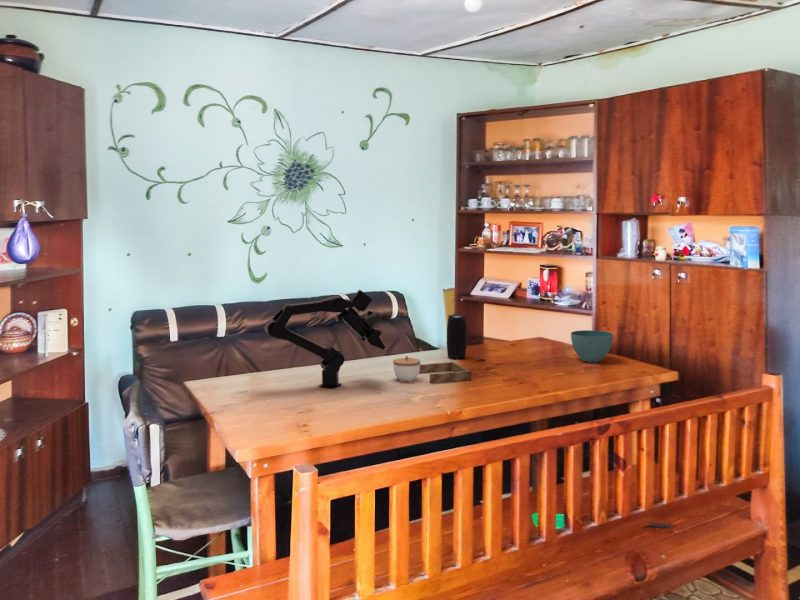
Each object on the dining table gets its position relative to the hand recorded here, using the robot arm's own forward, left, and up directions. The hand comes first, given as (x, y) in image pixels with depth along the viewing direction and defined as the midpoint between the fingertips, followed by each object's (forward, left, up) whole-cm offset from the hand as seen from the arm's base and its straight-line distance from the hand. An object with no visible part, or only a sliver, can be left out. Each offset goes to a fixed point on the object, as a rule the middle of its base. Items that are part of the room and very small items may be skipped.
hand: (382, 347), depth 278 cm
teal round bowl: (+78, -62, -14) cm, 100 cm away
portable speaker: (+54, -7, -14) cm, 57 cm away
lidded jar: (+7, -7, -14) cm, 17 cm away
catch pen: (+18, -16, -14) cm, 28 cm away
